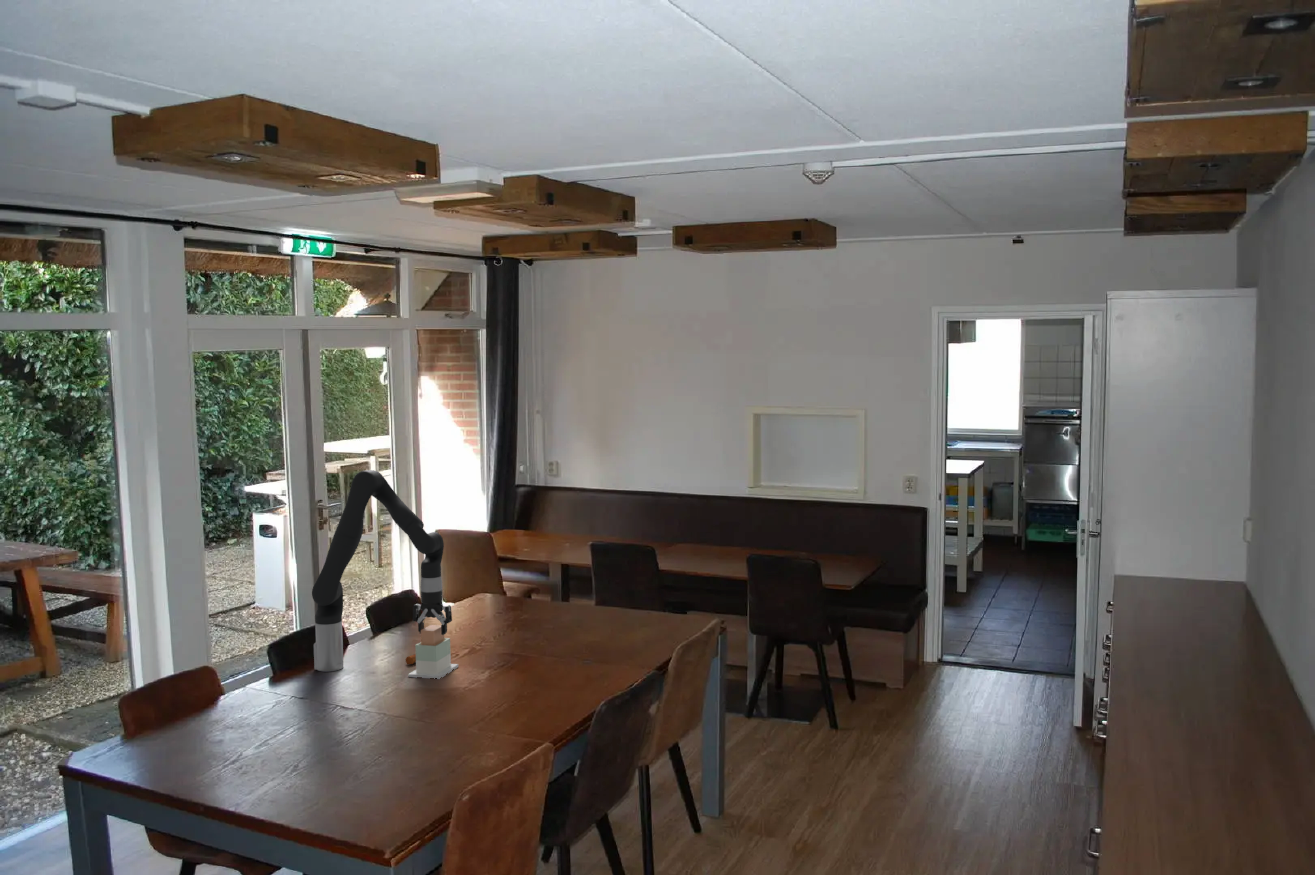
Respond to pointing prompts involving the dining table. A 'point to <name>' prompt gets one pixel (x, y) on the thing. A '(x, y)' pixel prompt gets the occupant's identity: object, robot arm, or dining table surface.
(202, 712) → the dining table surface
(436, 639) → the brick
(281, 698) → the dining table surface
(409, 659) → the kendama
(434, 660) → the mint open-top box
